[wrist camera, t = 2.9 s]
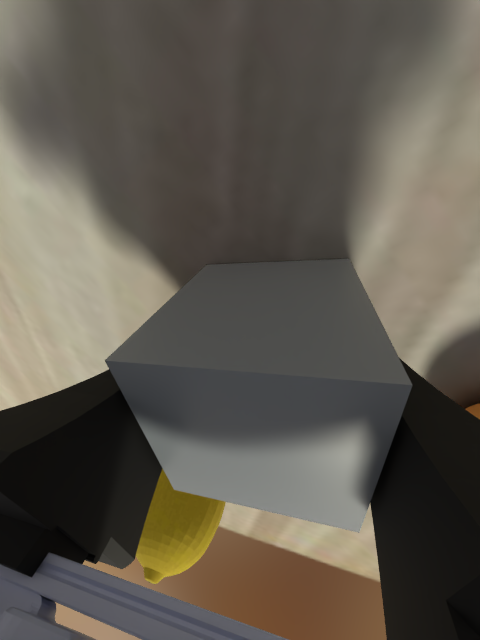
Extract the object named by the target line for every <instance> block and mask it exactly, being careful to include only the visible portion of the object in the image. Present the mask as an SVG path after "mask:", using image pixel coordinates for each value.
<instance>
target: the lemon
mask: <svg viewBox="0 0 480 640" xmlns="http://www.w3.org/2000/svg"><path fill="white" fill-rule="evenodd" d="M224 506H225V501H221V500H216V499H212V498H208V497H203V496H199V495H195V494H191V493H186V492H182V491H178V490H174V489H173V487H172V485H171V483H170V481H169V479H168V477H167V476H166V474H165V472H164V470H163V468H162V471H161V474H160V477H159V480H158V483H157V486H156V489H155V492H154V495H153V498H152V501H151V504H150V508H149V511H148V514H147V517H146V521H145V524H144V528H143V531H142V535H141V538H140V541H139V545H138V549H137V552H136V557H137V558H138V560H139V562H140V564H141V565H142V567H143V568H144V577H145V579H146V580H147V581H148V582H149V583H154V584H157V583H158V582H159V581H160V580H161V579H162V578H164V577H166V576H172V575H175V574H179V573H181V572H183V571H185V570H187V569H188V568H190V567H191V566H192V565H194V564H195V563H196V562H197V561H198V560H199V559H200V557H201V556H202V555H203V554H204V552H205V551H206V549H207V548H208V546H209V544H210V542H211V540H212V538H213V536H214V534H215V532H216V530H217V528H218V525H219V523H220V520H221V517H222V514H223V510H224Z"/></svg>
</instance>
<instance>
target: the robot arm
mask: <svg viewBox="0 0 480 640" xmlns="http://www.w3.org/2000/svg"><path fill="white" fill-rule="evenodd" d="M399 359H400V358H399ZM400 361H401V363H402V365H403V367H404V369H405V371H406V373H407V375H408V377H409V379H410V381H411V383H412V388H411V391H410V394H409V396H408V399H407V402H406V405H405V407H404V410H403V413H402V416H401V418H400V421H399V424H398V427H397V429H396V432H395V435H394V438H393V441H392V443H391V446H390V449H389V452H388V454H387V457H386V460H385V463H384V465H383V468H382V471H381V474H380V476H379V479H378V482H377V485H376V488H375V490H374V493H373V496H372V499H371V501H370V503H371V510H372V518H373V525H374V532H375V540H376V548H377V556H378V564H379V572H380V580H381V589H382V598H383V606H384V616H385V625H386V635H387V640H480V419H478V418H477V417H475V416H474V415H473V414H471V413H470V412H468V411H467V410H465V409H464V408H462V407H461V406H460V405H458V404H457V403H455V402H454V401H452V400H451V399H450V398H448V397H447V396H445V395H444V394H443V393H441V392H440V391H439V390H437V389H436V388H435V387H434V386H432V385H431V384H430V383H429V382H427V381H426V380H425V379H424V378H422V377H421V376H420V375H418V374H417V373H416V372H415V371H414V370H413V369H411V368H410V367H409V366H408V365H407V364H406V363H404V362H403V361H402V360H401V359H400ZM161 471H162V466H161V464H160V463H159V461H158V459H157V457H156V455H155V453H154V451H153V449H152V448H151V446H150V444H149V442H148V440H147V438H146V436H145V435H144V433H143V431H142V429H141V427H140V425H139V423H138V421H137V420H136V418H135V416H134V414H133V412H132V410H131V408H130V407H129V405H128V403H127V401H126V399H125V397H124V395H123V394H122V392H121V390H120V388H119V386H118V384H117V382H116V380H115V379H114V377H113V375H112V373H111V371H110V369H109V370H107V371H105V372H103V373H101V374H99V375H97V376H94V377H92V378H90V379H87V380H85V381H83V382H80V383H78V384H76V385H73V386H71V387H69V388H66V389H64V390H61V391H58V392H56V393H53V394H50V395H48V396H45V397H42V398H39V399H36V400H33V401H31V402H28V403H25V404H21V405H18V406H15V407H12V408H9V409H5V410H2V411H0V640H96V639H94V638H92V637H89V636H87V635H85V634H82V633H80V632H78V631H75V630H73V629H70V628H68V627H65V626H63V625H60V624H57V623H56V621H55V613H56V604H55V602H57V603H59V604H61V605H64V606H66V607H69V608H71V609H73V610H75V611H77V612H80V613H82V614H84V615H87V616H89V617H92V618H94V619H96V620H98V621H101V622H103V623H105V624H107V625H110V626H112V627H114V628H117V629H119V630H121V631H124V632H126V633H128V634H131V635H133V636H135V637H138V638H140V639H142V640H288V639H285V638H283V637H280V636H277V635H274V634H272V633H269V632H266V631H263V630H261V629H258V628H255V627H252V626H250V625H246V624H244V623H241V622H239V621H236V620H233V619H230V618H228V617H225V616H222V615H220V614H217V613H214V612H211V611H209V610H206V609H203V608H200V607H197V606H195V605H192V604H189V603H187V602H184V601H181V600H178V599H176V598H173V597H170V596H167V595H165V594H162V593H159V592H156V591H154V590H151V589H148V588H145V587H143V586H140V585H137V584H134V583H131V582H129V581H126V580H124V579H120V578H118V577H115V576H112V575H110V574H107V573H104V572H102V571H99V570H96V569H93V568H91V567H88V566H85V565H82V564H83V562H84V560H86V561H89V562H92V563H94V564H96V563H97V562H98V561H100V562H103V563H106V564H109V565H111V566H114V567H117V568H120V569H123V568H125V567H126V566H128V565H129V564H131V563H132V561H133V560H134V559H135V556H136V552H137V549H138V545H139V541H140V538H141V535H142V531H143V528H144V524H145V521H146V517H147V514H148V511H149V508H150V504H151V501H152V498H153V495H154V492H155V489H156V486H157V483H158V480H159V477H160V474H161Z"/></svg>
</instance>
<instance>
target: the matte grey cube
mask: <svg viewBox="0 0 480 640" xmlns="http://www.w3.org/2000/svg"><path fill="white" fill-rule="evenodd" d="M105 362H106V364H107V366H108V367H109V369H110V371H111V373H112V375H113V377H114V379H115V380H116V382H117V384H118V386H119V388H120V390H121V392H122V394H123V395H124V397H125V399H126V401H127V403H128V405H129V407H130V408H131V410H132V412H133V414H134V416H135V418H136V420H137V421H138V423H139V425H140V427H141V429H142V431H143V433H144V435H145V436H146V438H147V440H148V442H149V444H150V446H151V448H152V449H153V451H154V453H155V455H156V457H157V459H158V461H159V463H160V464H161V466H162V468H163V470H164V472H165V474H166V476H167V477H168V479H169V481H170V483H171V485H172V487H173V489H174V490H178V491H182V492H186V493H191V494H195V495H199V496H203V497H208V498H212V499H216V500H221V501H225V502H229V503H234V504H238V505H242V506H247V507H251V508H255V509H260V510H264V511H268V512H272V513H277V514H281V515H285V516H290V517H294V518H298V519H303V520H307V521H311V522H316V523H320V524H324V525H329V526H333V527H337V528H342V529H346V530H350V531H354V532H360V529H361V526H362V523H363V521H364V518H365V515H366V512H367V510H368V507H369V504H370V501H371V499H372V496H373V493H374V490H375V488H376V485H377V482H378V479H379V476H380V474H381V471H382V468H383V465H384V463H385V460H386V457H387V454H388V452H389V449H390V446H391V443H392V441H393V438H394V435H395V432H396V429H397V427H398V424H399V421H400V418H401V416H402V413H403V410H404V407H405V405H406V402H407V399H408V396H409V394H410V391H411V388H412V383H411V381H410V379H409V377H408V375H407V373H406V371H405V369H404V367H403V365H402V363H401V361H400V359H399V357H398V355H397V353H396V351H395V349H394V347H393V345H392V343H391V341H390V339H389V337H388V335H387V333H386V331H385V329H384V327H383V325H382V323H381V321H380V319H379V317H378V315H377V313H376V311H375V309H374V307H373V305H372V303H371V301H370V299H369V297H368V295H367V293H366V291H365V289H364V287H363V285H362V283H361V281H360V279H359V277H358V275H357V273H356V271H355V269H354V267H353V265H352V263H351V261H350V259H326V260H303V261H279V262H256V263H233V264H209V265H206V266H205V267H204V268H202V269H201V270H200V271H199V272H198V273H197V274H196V275H195V276H194V277H193V278H192V279H191V280H190V281H189V282H188V283H187V284H185V285H184V286H183V287H182V288H181V289H180V290H179V291H178V292H177V293H176V294H175V295H174V296H173V297H172V298H171V299H170V300H169V301H167V302H166V303H165V304H164V305H163V306H162V307H161V308H160V309H159V310H158V311H157V312H156V313H155V314H154V315H153V316H152V317H150V318H149V319H148V320H147V321H146V322H145V323H144V324H143V325H142V326H141V327H140V328H139V329H138V330H137V331H136V332H135V333H134V334H132V335H131V336H130V337H129V338H128V339H127V340H126V341H125V342H124V343H123V344H122V345H121V346H120V347H119V348H118V349H117V350H115V351H114V352H113V353H112V354H111V355H110V356H109V357H108V358H107V359H106V360H105Z"/></svg>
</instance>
